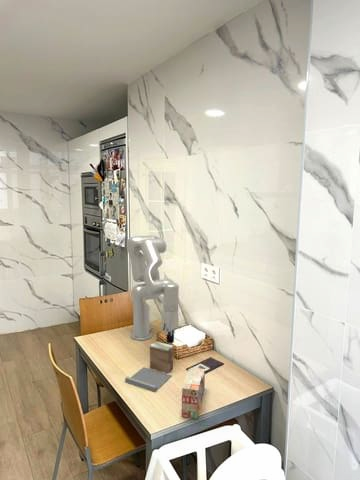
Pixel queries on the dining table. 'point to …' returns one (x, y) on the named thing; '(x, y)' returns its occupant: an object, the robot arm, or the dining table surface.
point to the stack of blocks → (193, 393)
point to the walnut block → (161, 357)
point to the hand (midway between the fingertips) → (170, 342)
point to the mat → (148, 379)
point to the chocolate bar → (207, 365)
